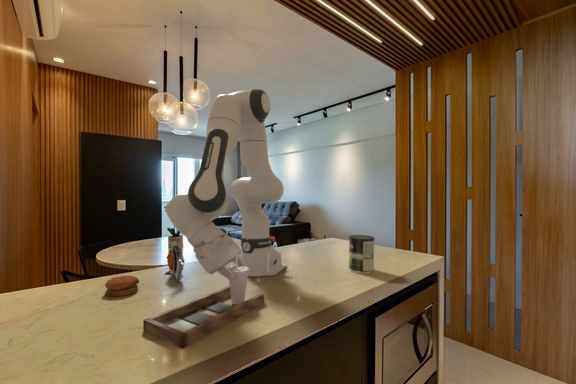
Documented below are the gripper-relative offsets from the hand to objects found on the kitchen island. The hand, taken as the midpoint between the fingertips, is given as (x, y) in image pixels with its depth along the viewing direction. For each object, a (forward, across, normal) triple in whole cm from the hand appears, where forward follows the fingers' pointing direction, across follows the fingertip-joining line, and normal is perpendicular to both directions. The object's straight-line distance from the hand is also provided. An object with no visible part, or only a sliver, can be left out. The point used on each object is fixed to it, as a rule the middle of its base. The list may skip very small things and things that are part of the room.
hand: (239, 274), depth 80 cm
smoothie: (+6, 0, +6) cm, 8 cm away
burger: (-22, +2, +34) cm, 41 cm away
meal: (-16, +18, +28) cm, 38 cm away
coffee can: (+34, +41, -22) cm, 58 cm away
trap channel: (+3, -10, +9) cm, 13 cm away
